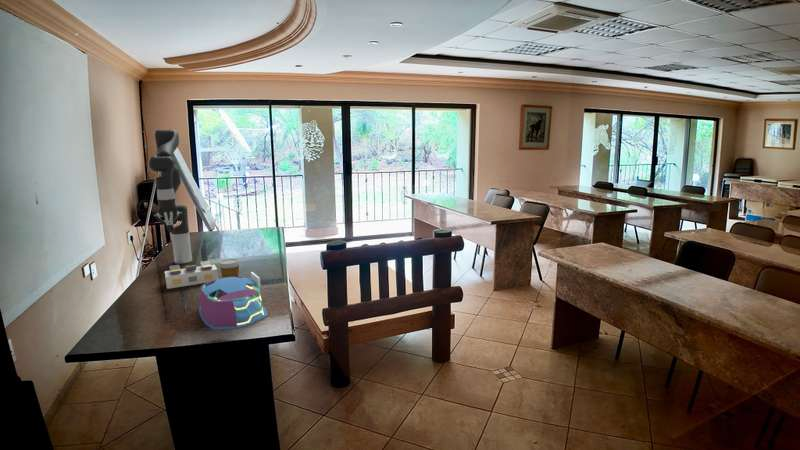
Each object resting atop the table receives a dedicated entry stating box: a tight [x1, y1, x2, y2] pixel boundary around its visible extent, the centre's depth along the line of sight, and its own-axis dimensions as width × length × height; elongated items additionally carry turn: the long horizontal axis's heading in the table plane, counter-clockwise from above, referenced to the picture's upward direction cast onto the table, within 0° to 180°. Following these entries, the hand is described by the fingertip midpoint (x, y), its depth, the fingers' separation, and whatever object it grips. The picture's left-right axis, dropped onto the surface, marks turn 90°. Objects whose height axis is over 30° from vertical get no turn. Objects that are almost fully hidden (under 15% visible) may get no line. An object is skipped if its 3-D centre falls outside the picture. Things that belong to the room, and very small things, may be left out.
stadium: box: [198, 271, 268, 330], centre depth 179 cm, size 35×24×14 cm
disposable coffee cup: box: [218, 258, 240, 278], centre depth 212 cm, size 10×10×12 cm
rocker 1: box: [169, 264, 182, 274], centre depth 213 cm, size 8×4×1 cm, turn 30°
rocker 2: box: [184, 264, 197, 270], centre depth 217 cm, size 8×4×1 cm, turn 30°
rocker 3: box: [199, 259, 213, 270], centre depth 220 cm, size 8×4×1 cm, turn 30°
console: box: [164, 264, 219, 290], centre depth 218 cm, size 10×23×7 cm, turn 120°
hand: (170, 232), depth 217 cm, fingers closed
